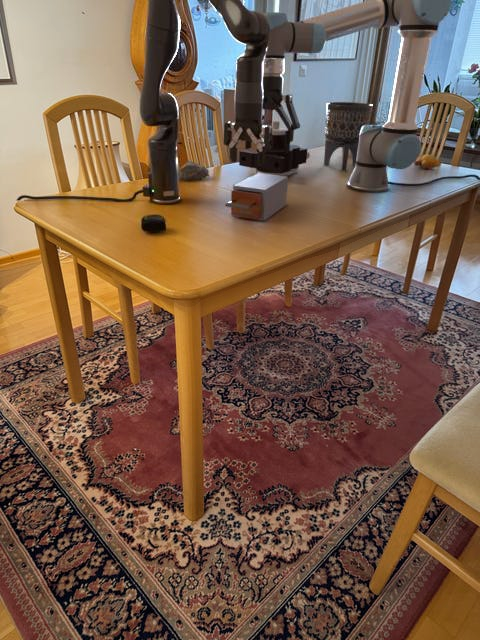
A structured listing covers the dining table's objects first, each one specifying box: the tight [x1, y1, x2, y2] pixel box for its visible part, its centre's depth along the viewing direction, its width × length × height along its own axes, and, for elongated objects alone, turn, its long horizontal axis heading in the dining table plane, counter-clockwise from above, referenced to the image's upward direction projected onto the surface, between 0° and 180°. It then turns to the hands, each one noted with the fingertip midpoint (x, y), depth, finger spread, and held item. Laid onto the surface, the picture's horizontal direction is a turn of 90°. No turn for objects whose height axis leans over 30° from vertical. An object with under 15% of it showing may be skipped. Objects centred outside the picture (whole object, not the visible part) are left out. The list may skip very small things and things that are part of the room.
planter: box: [323, 101, 374, 172], centre depth 204 cm, size 20×20×26 cm
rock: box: [178, 160, 210, 182], centre depth 182 cm, size 13×9×6 cm, turn 131°
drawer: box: [224, 189, 262, 220], centre depth 142 cm, size 24×9×8 cm, turn 154°
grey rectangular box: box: [232, 173, 289, 222], centre depth 146 cm, size 20×11×10 cm, turn 155°
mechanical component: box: [238, 120, 311, 176], centre depth 191 cm, size 22×21×30 cm
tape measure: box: [140, 213, 167, 233], centre depth 128 cm, size 7×7×4 cm
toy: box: [413, 154, 442, 170], centre depth 212 cm, size 11×6×15 cm
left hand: (247, 163), depth 129 cm, fingers open, 8 cm apart
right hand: (267, 150), depth 145 cm, fingers open, 13 cm apart
